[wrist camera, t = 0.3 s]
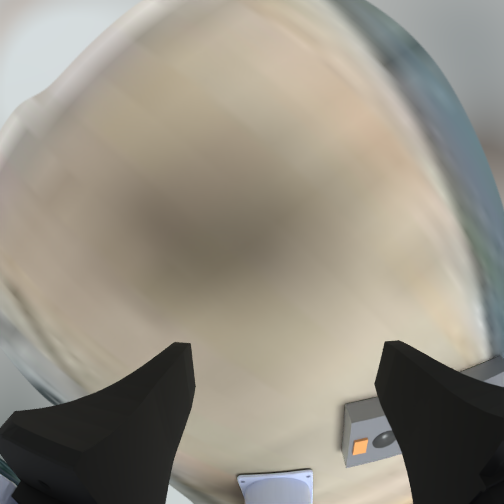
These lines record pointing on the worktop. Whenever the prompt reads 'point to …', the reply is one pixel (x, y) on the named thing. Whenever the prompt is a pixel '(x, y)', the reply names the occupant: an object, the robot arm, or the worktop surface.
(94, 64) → the worktop surface
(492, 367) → the grey control panel
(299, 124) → the worktop surface
